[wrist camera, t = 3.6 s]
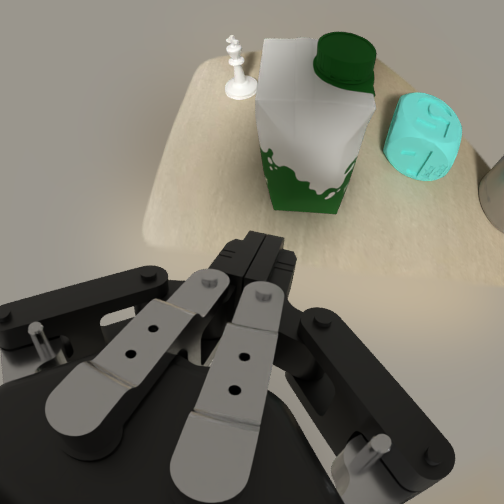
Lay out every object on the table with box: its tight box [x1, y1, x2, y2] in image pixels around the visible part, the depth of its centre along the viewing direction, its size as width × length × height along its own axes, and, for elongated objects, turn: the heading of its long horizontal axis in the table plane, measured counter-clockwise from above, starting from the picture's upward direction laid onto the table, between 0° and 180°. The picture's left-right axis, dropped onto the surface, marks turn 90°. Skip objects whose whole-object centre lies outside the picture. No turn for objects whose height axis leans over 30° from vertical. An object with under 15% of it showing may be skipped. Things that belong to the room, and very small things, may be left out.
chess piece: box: [225, 35, 258, 100], centre depth 37 cm, size 5×5×10 cm
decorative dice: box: [383, 93, 462, 181], centre depth 32 cm, size 8×8×8 cm
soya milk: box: [255, 32, 376, 214], centre depth 26 cm, size 9×9×20 cm
